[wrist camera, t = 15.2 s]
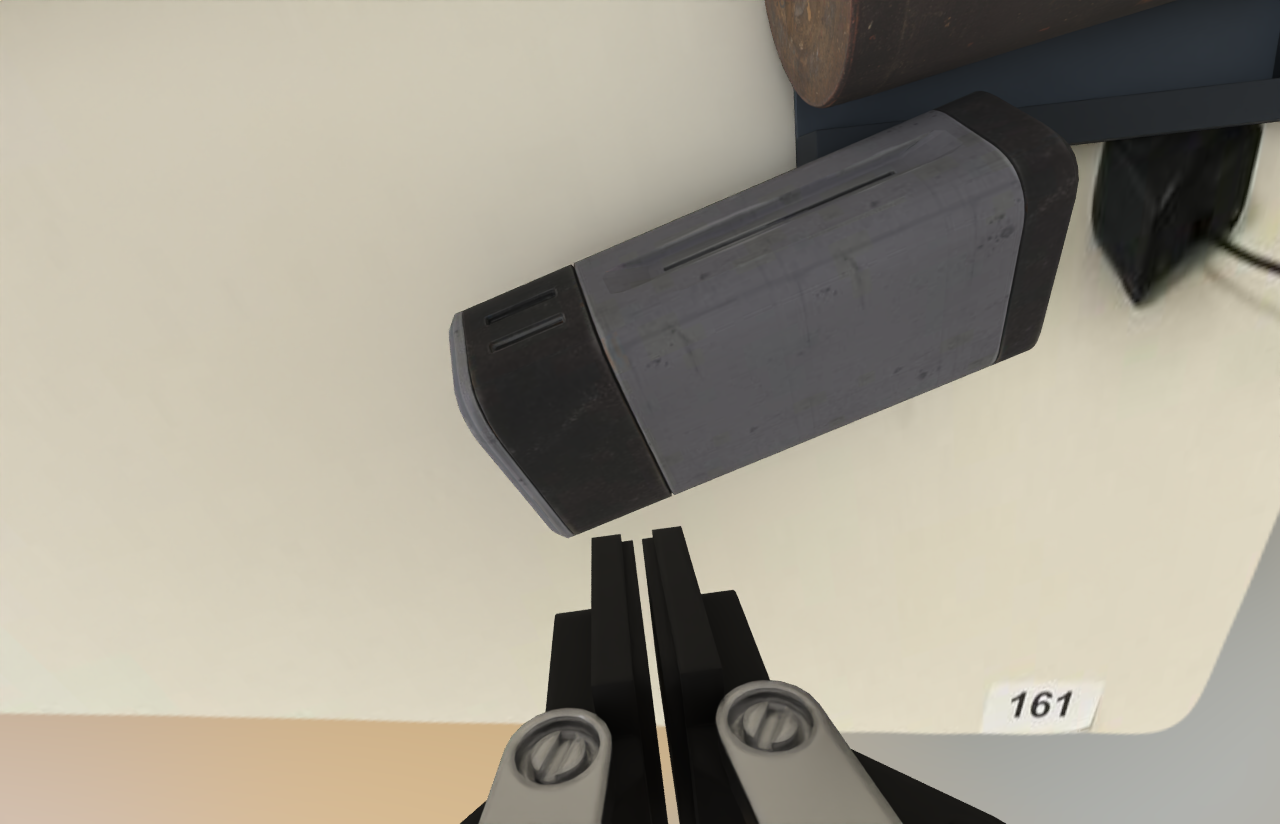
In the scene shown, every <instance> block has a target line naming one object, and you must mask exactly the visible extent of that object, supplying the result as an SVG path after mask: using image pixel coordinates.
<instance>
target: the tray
mask: <svg viewBox="0 0 1280 824" xmlns="http://www.w3.org/2000/svg"><path fill="white" fill-rule="evenodd" d="M975 91H985V92H988V93H991V94H993V95H995V96H997V97H999V98H1001V99H1002V100H1004V101H1006V102H1008V103H1009V104H1011V105H1013V106H1014V107H1016V108H1018V109H1020V110H1021V111H1023V112H1025V113H1026V114H1028V115H1030V116H1032V117H1033V118H1035V119H1037V120H1038V121H1040V122H1042V123H1044V124H1045V125H1046V126H1048V127H1049V128H1051V129H1052V130H1053V131H1055V132H1056V133H1058V134H1059V135H1060V136H1062V137H1063V138H1064V139H1065V141H1066V142H1067V143H1068V144H1069V145H1070V146H1071V145H1079V144H1088V143H1097V142H1105V141H1114V140H1123V139H1131V138H1140V137H1148V136H1157V135H1166V134H1174V133H1183V132H1192V131H1200V130H1209V129H1217V128H1226V127H1235V126H1243V125H1252V124H1261V123H1269V122H1278V121H1280V0H1176V1H1172V2H1169V3H1166V4H1163V5H1160V6H1156V7H1153V8H1150V9H1146V10H1143V11H1140V12H1136V13H1133V14H1130V15H1127V16H1123V17H1120V18H1116V19H1113V20H1110V21H1107V22H1103V23H1100V24H1097V25H1094V26H1090V27H1087V28H1084V29H1080V30H1077V31H1073V32H1070V33H1067V34H1064V35H1060V36H1057V37H1054V38H1051V39H1047V40H1045V41H1042V42H1038V43H1035V44H1032V45H1029V46H1025V47H1022V48H1019V49H1016V50H1012V51H1009V52H1006V53H1003V54H1000V55H996V56H993V57H990V58H987V59H984V60H981V61H978V62H974V63H971V64H967V65H964V66H961V67H958V68H955V69H952V70H949V71H946V72H942V73H939V74H936V75H933V76H930V77H927V78H924V79H921V80H918V81H915V82H911V83H908V84H905V85H902V86H899V87H896V88H893V89H889V90H886V91H883V92H880V93H877V94H874V95H870V96H867V97H864V98H860V99H856V100H853V101H849V102H846V103H844V104H840V105H836V106H832V107H828V108H816V107H813V106H811V105H809V104H807V103H806V102H805V101H804V100H803V99H802V98H801V97H800V96H799V95H798V93H797V92H796V91H795V89H794V110H795V137H796V164H797V168H798V167H800V166H802V165H805V164H807V163H809V162H812V161H814V160H816V159H819V158H821V157H823V156H826V155H828V154H830V153H833V152H835V151H837V150H840V149H842V148H844V147H847V146H849V145H851V144H854V143H856V142H858V141H861V140H863V139H865V138H868V137H870V136H872V135H875V134H877V133H879V132H882V131H884V130H886V129H889V128H891V127H893V126H896V125H898V124H900V123H903V122H905V121H907V120H910V119H912V118H914V117H917V116H919V115H921V114H924V113H926V112H928V111H931V110H933V109H935V108H938V107H940V106H942V105H945V104H947V103H949V102H952V101H954V100H956V99H959V98H961V97H963V96H966V95H968V94H970V93H973V92H975Z"/></svg>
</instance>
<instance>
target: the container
mask: <svg viewBox="0 0 1280 824" xmlns="http://www.w3.org/2000/svg"><path fill="white" fill-rule="evenodd" d="M1172 1H1176V0H765V5H766V10H767V15H768V19H769V23H770V28H771V32H772V35H773V39H774V43H775V46H776V49H777V51H778V55H779V58H780V60H781V63H782V66H783V68H784V70H785V72H786V74H787V76H788V78H789V80H790V82H791V84H792V86H793V87H794V89H795V91H796V92H797V93H798V95H799V96H800V97H801V98H802V99H803V100H804V101H805V102H806V103H807V104H809V105H811V106H813V107H816V108H828V107H832V106H836V105H840V104H844V103H846V102H849V101H853V100H856V99H860V98H864V97H867V96H870V95H874V94H877V93H880V92H883V91H886V90H889V89H893V88H896V87H899V86H902V85H905V84H908V83H911V82H915V81H918V80H921V79H924V78H927V77H930V76H933V75H936V74H939V73H942V72H946V71H949V70H952V69H955V68H958V67H961V66H964V65H967V64H971V63H974V62H978V61H981V60H984V59H987V58H990V57H993V56H996V55H1000V54H1003V53H1006V52H1009V51H1012V50H1016V49H1019V48H1022V47H1025V46H1029V45H1032V44H1035V43H1038V42H1042V41H1045V40H1047V39H1051V38H1054V37H1057V36H1060V35H1064V34H1067V33H1070V32H1073V31H1077V30H1080V29H1084V28H1087V27H1090V26H1094V25H1097V24H1100V23H1103V22H1107V21H1110V20H1113V19H1116V18H1120V17H1123V16H1127V15H1130V14H1133V13H1136V12H1140V11H1143V10H1146V9H1150V8H1153V7H1156V6H1160V5H1163V4H1166V3H1169V2H1172Z"/></svg>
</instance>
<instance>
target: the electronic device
mask: <svg viewBox="0 0 1280 824" xmlns="http://www.w3.org/2000/svg"><path fill="white" fill-rule="evenodd" d="M1078 181H1079V176H1078V165H1077V161H1076V157H1075V154H1074V152H1073V151H1072V149H1071V147H1070V145H1069V144H1068V143H1067V142H1066V141H1065V139H1064V138H1063V137H1062V136H1060V135H1059V134H1058V133H1056V132H1055V131H1053V130H1052V129H1051V128H1049V127H1048V126H1046V125H1045V124H1044V123H1042V122H1040V121H1038V120H1037V119H1035V118H1033V117H1032V116H1030V115H1028V114H1026V113H1025V112H1023V111H1021V110H1020V109H1018V108H1016V107H1014V106H1013V105H1011V104H1009V103H1008V102H1006V101H1004V100H1002V99H1001V98H999V97H997V96H995V95H993V94H991V93H988V92H985V91H975V92H973V93H970V94H968V95H966V96H963V97H961V98H959V99H956V100H954V101H952V102H949V103H947V104H945V105H942V106H940V107H938V108H935V109H933V110H931V111H928V112H926V113H924V114H921V115H919V116H917V117H914V118H912V119H910V120H907V121H905V122H903V123H900V124H898V125H896V126H893V127H891V128H889V129H886V130H884V131H882V132H879V133H877V134H875V135H872V136H870V137H868V138H865V139H863V140H861V141H858V142H856V143H854V144H851V145H849V146H847V147H844V148H842V149H840V150H837V151H835V152H833V153H830V154H828V155H826V156H823V157H821V158H819V159H816V160H814V161H812V162H809V163H807V164H805V165H802V166H800V167H798V168H795V169H793V170H791V171H788V172H786V173H784V174H781V175H779V176H777V177H774V178H772V179H770V180H767V181H765V182H763V183H760V184H758V185H756V186H753V187H751V188H749V189H746V190H744V191H742V192H739V193H737V194H735V195H732V196H730V197H728V198H725V199H723V200H721V201H718V202H716V203H714V204H711V205H709V206H707V207H704V208H702V209H700V210H697V211H695V212H693V213H690V214H688V215H686V216H683V217H681V218H679V219H676V220H674V221H672V222H669V223H667V224H665V225H662V226H660V227H658V228H655V229H653V230H651V231H648V232H646V233H644V234H641V235H639V236H637V237H634V238H632V239H630V240H627V241H625V242H623V243H620V244H618V245H616V246H613V247H611V248H609V249H606V250H604V251H602V252H599V253H597V254H595V255H592V256H590V257H588V258H585V259H583V260H581V261H578V262H576V263H574V267H573V266H572V265H569V266H567V267H564V268H562V269H560V270H557V271H555V272H553V273H550V274H548V275H546V276H543V277H541V278H539V279H536V280H534V281H532V282H529V283H527V284H525V285H522V286H520V287H518V288H515V289H513V290H511V291H508V292H506V293H504V294H501V295H499V296H497V297H494V298H492V299H490V300H487V301H485V302H483V303H480V304H478V305H476V306H473V307H471V308H469V309H466V310H464V311H461V312H459V313H456V314H455V315H454V318H453V321H452V324H451V327H450V330H449V341H450V352H451V362H452V372H453V382H454V391H455V395H456V399H457V402H458V406H459V409H460V412H461V414H462V416H463V418H464V420H465V422H466V424H467V426H468V428H469V429H470V431H471V433H472V434H473V436H474V437H475V438H476V440H477V441H478V442H479V443H480V445H481V446H482V447H483V448H484V449H485V451H486V452H487V453H488V454H489V456H490V457H491V458H492V459H493V460H494V462H495V463H496V464H497V465H498V466H499V468H500V469H501V470H502V471H503V472H504V474H505V475H506V476H507V477H508V478H509V480H510V481H511V482H512V483H513V484H514V486H515V487H516V488H517V489H518V490H519V492H520V493H521V494H522V495H523V496H524V498H525V499H526V500H527V501H528V503H529V504H530V505H531V506H532V507H533V509H534V510H535V511H536V512H537V513H538V515H539V516H540V517H541V518H542V519H543V521H544V522H545V523H546V524H547V525H548V527H549V528H550V529H551V530H552V531H554V532H555V533H557V534H559V535H562V536H564V537H566V538H569V537H572V536H575V535H577V534H580V533H582V532H585V531H587V530H590V529H592V528H595V527H597V526H599V525H602V524H604V523H607V522H609V521H612V520H614V519H617V518H619V517H621V516H624V515H626V514H629V513H631V512H634V511H636V510H639V509H641V508H643V507H646V506H648V505H651V504H653V503H656V502H658V501H661V500H663V499H665V498H668V497H670V496H672V493H673V494H674V495H675V494H678V493H680V492H683V491H685V490H688V489H690V488H692V487H695V486H697V485H700V484H702V483H705V482H707V481H710V480H712V479H714V478H717V477H719V476H722V475H724V474H727V473H729V472H732V471H734V470H736V469H739V468H741V467H744V466H746V465H749V464H751V463H754V462H756V461H758V460H761V459H763V458H766V457H768V456H771V455H773V454H776V453H778V452H781V451H783V450H785V449H788V448H790V447H793V446H795V445H798V444H800V443H803V442H805V441H807V440H810V439H812V438H815V437H817V436H820V435H822V434H825V433H827V432H829V431H832V430H834V429H837V428H839V427H842V426H844V425H847V424H849V423H851V422H854V421H856V420H859V419H861V418H864V417H866V416H869V415H871V414H873V413H876V412H878V411H881V410H883V409H886V408H888V407H891V406H893V405H895V404H898V403H900V402H903V401H905V400H908V399H910V398H913V397H915V396H918V395H920V394H922V393H925V392H927V391H930V390H932V389H935V388H937V387H940V386H942V385H944V384H947V383H949V382H952V381H954V380H957V379H959V378H962V377H964V376H966V375H969V374H971V373H974V372H976V371H979V370H981V369H984V368H986V367H988V366H991V365H994V364H996V363H999V362H1001V361H1003V360H1006V359H1008V358H1011V357H1013V356H1015V355H1018V354H1020V353H1023V352H1025V351H1028V350H1030V349H1031V348H1033V347H1034V346H1035V344H1036V342H1037V341H1038V338H1039V335H1040V333H1041V329H1042V326H1043V322H1044V318H1045V314H1046V310H1047V306H1048V303H1049V299H1050V295H1051V291H1052V287H1053V283H1054V279H1055V276H1056V272H1057V268H1058V264H1059V260H1060V256H1061V253H1062V249H1063V245H1064V241H1065V237H1066V233H1067V229H1068V226H1069V222H1070V218H1071V214H1072V210H1073V206H1074V203H1075V199H1076V193H1077V187H1078Z"/></svg>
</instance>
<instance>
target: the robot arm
mask: <svg viewBox="0 0 1280 824" xmlns="http://www.w3.org/2000/svg"><path fill="white" fill-rule="evenodd" d="M652 534H653V538H647V539H642V544H643V553H644V561H645V569H646V578H647V586H648V595H649V603H650V611H651V620H652V628H653V636H654V645H655V653H656V661H657V669H658V677H659V684H660V691H661V698H662V705H663V712H664V719H665V726H666V732H667V738H668V746H669V752H670V760H671V767H672V774H673V781H674V787H675V794H676V802H677V807H678V815H679V822H680V824H1006V823H1004V822H1002V821H1001V820H999V819H997V818H995V817H994V816H992V815H989V814H987V813H985V812H983V811H981V810H979V809H977V808H975V807H973V806H971V805H968V804H966V803H964V802H962V801H960V800H958V799H956V798H954V797H952V796H949V795H947V794H945V793H943V792H941V791H939V790H937V789H935V788H932V787H930V786H928V785H926V784H924V783H922V782H920V781H918V780H916V779H913V778H911V777H909V776H907V775H905V774H903V773H901V772H898V771H897V770H894V769H892V768H890V767H888V766H886V765H884V764H882V763H880V762H877V761H875V760H873V759H871V758H869V757H867V756H865V755H863V754H861V753H858V752H856V751H854V750H852V749H850V747H849V746H848V744H847V743H846V742H845V740H844V739H843V737H842V736H841V734H840V733H839V731H838V730H837V729H836V727H835V726H834V724H833V723H832V721H831V720H830V719H829V717H828V716H827V714H826V713H825V711H824V710H823V708H822V707H821V706H820V704H819V703H818V702H817V701H816V700H815V699H814V698H813V697H812V696H811V695H810V694H809V693H807V692H806V691H804V690H802V689H800V688H799V687H797V686H795V685H791V684H788V683H785V682H782V681H772V680H770V679H769V676H768V674H767V671H766V669H765V666H764V663H763V661H762V658H761V656H760V653H759V651H758V648H757V645H756V643H755V640H754V638H753V635H752V632H751V630H750V627H749V625H748V622H747V620H746V617H745V614H744V612H743V609H742V607H741V604H740V601H739V599H738V596H737V594H736V592H735V591H734V590H729V591H721V592H714V593H707V594H701V593H700V589H699V586H698V583H697V579H696V576H695V572H694V569H693V565H692V562H691V559H690V555H689V552H688V548H687V545H686V541H685V538H684V534H683V531H682V528H681V526H679V527H671V528H664V529H656V530H652ZM460 824H668V820H667V811H666V803H665V795H664V786H663V778H662V770H661V762H660V754H659V747H658V738H657V730H656V722H655V714H654V706H653V698H652V690H651V682H650V674H649V666H648V658H647V650H646V642H645V634H644V626H643V618H642V610H641V602H640V594H639V586H638V578H637V570H636V562H635V555H634V547H633V540H631V541H624V542H622V541H621V534H618V535H610V536H603V537H595V538H592V562H591V609H588V610H581V611H574V612H566V613H559V614H556V615H555V620H554V630H553V640H552V651H551V661H550V672H549V682H548V692H547V703H546V712H545V713H543V714H540V715H537V716H535V717H534V718H532V719H531V720H529V721H528V722H526V723H525V724H523V725H522V726H521V727H520V728H519V729H518V730H517V731H516V732H515V733H514V734H513V736H512V737H511V738H510V740H509V742H508V744H507V746H506V748H505V750H504V753H503V756H502V758H501V761H500V764H499V767H498V770H497V773H496V776H495V778H494V781H493V784H492V787H491V790H490V793H489V796H488V799H487V800H486V802H484V803H483V804H482V805H481V806H480V807H478V808H477V809H476V810H475V811H474V812H473V813H472V814H470V815H469V816H468V817H467V818H466V819H465V820H464V821H462V822H461V823H460Z"/></svg>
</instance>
